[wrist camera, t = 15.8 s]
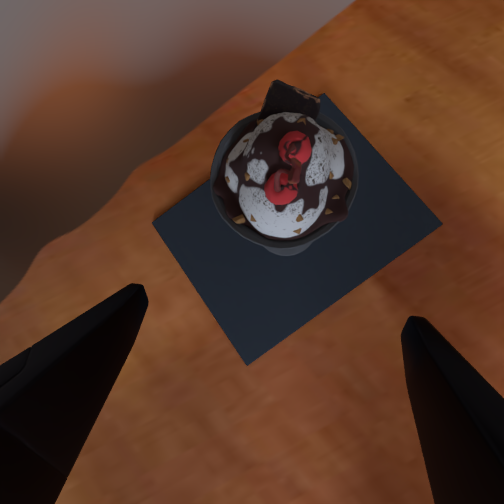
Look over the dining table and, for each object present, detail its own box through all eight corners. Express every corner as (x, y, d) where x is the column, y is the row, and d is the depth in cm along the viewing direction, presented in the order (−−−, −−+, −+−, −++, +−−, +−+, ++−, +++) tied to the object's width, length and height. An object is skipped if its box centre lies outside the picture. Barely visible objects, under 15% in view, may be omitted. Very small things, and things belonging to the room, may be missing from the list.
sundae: (290, 285, 22) (287, 274, 7) (228, 228, 23) (120, 122, 9) (348, 221, 22) (460, 85, 7) (283, 169, 23) (268, -38, 9)
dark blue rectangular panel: (441, 224, 21) (443, 224, 21) (247, 365, 22) (246, 366, 22) (323, 94, 24) (324, 92, 24) (152, 223, 25) (151, 222, 24)
